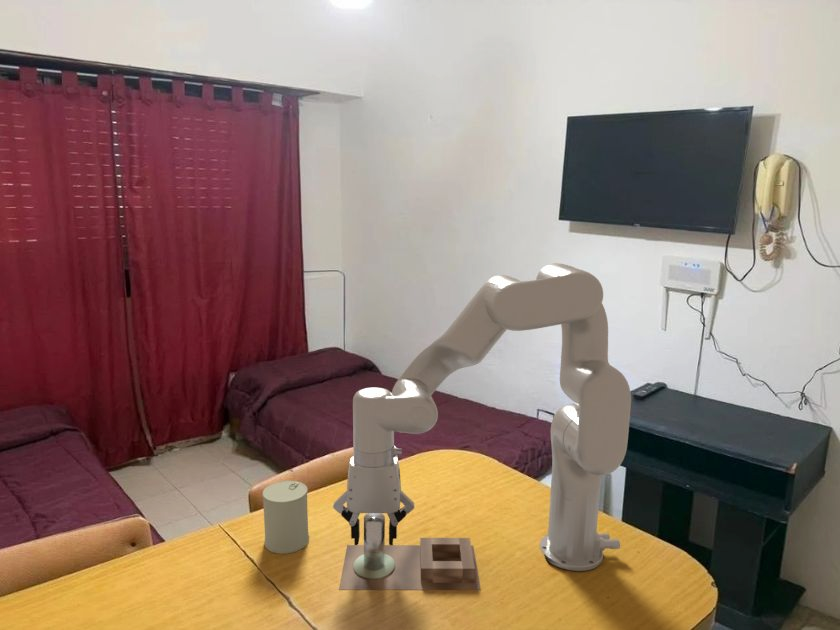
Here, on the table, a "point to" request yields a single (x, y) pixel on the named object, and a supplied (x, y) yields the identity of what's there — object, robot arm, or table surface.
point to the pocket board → (415, 567)
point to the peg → (374, 541)
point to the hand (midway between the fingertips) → (374, 540)
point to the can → (285, 516)
